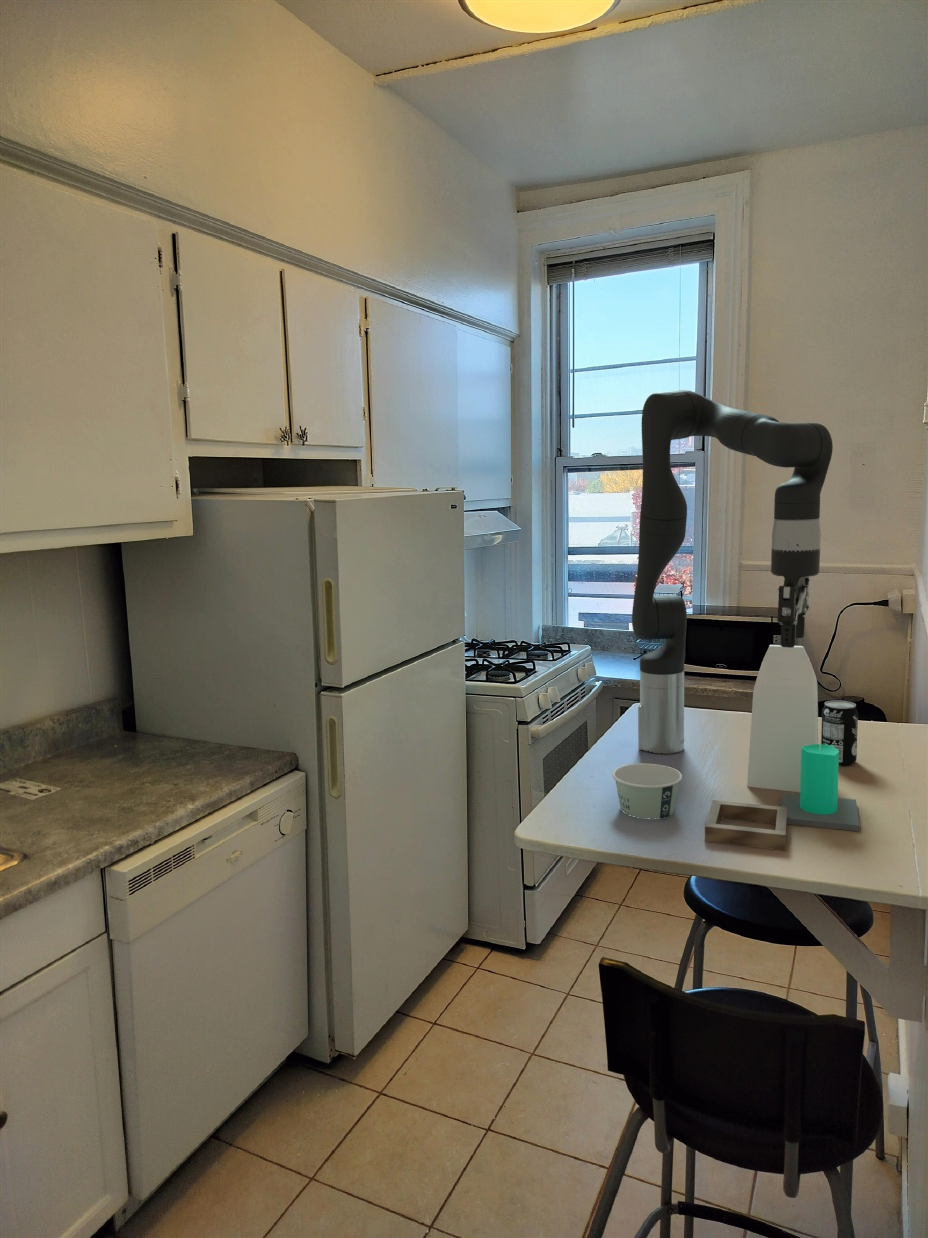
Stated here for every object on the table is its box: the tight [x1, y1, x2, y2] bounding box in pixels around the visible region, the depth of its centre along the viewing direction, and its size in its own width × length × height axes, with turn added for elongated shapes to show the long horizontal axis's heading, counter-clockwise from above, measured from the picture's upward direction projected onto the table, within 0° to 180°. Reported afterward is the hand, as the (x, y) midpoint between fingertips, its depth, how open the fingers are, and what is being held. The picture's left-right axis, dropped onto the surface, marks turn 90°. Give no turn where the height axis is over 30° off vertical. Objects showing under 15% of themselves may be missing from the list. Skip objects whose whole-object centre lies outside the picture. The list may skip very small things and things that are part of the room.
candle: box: [799, 739, 840, 815], centre depth 143 cm, size 6×6×12 cm
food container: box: [611, 762, 683, 820], centre depth 148 cm, size 12×12×6 cm
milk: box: [746, 644, 819, 793], centre depth 159 cm, size 12×12×26 cm
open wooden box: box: [704, 799, 788, 852], centre depth 138 cm, size 12×12×2 cm
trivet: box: [780, 792, 861, 832], centre depth 144 cm, size 12×12×1 cm
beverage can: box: [820, 699, 859, 767], centre depth 169 cm, size 7×7×12 cm
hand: (792, 642), depth 142 cm, fingers open, 8 cm apart
